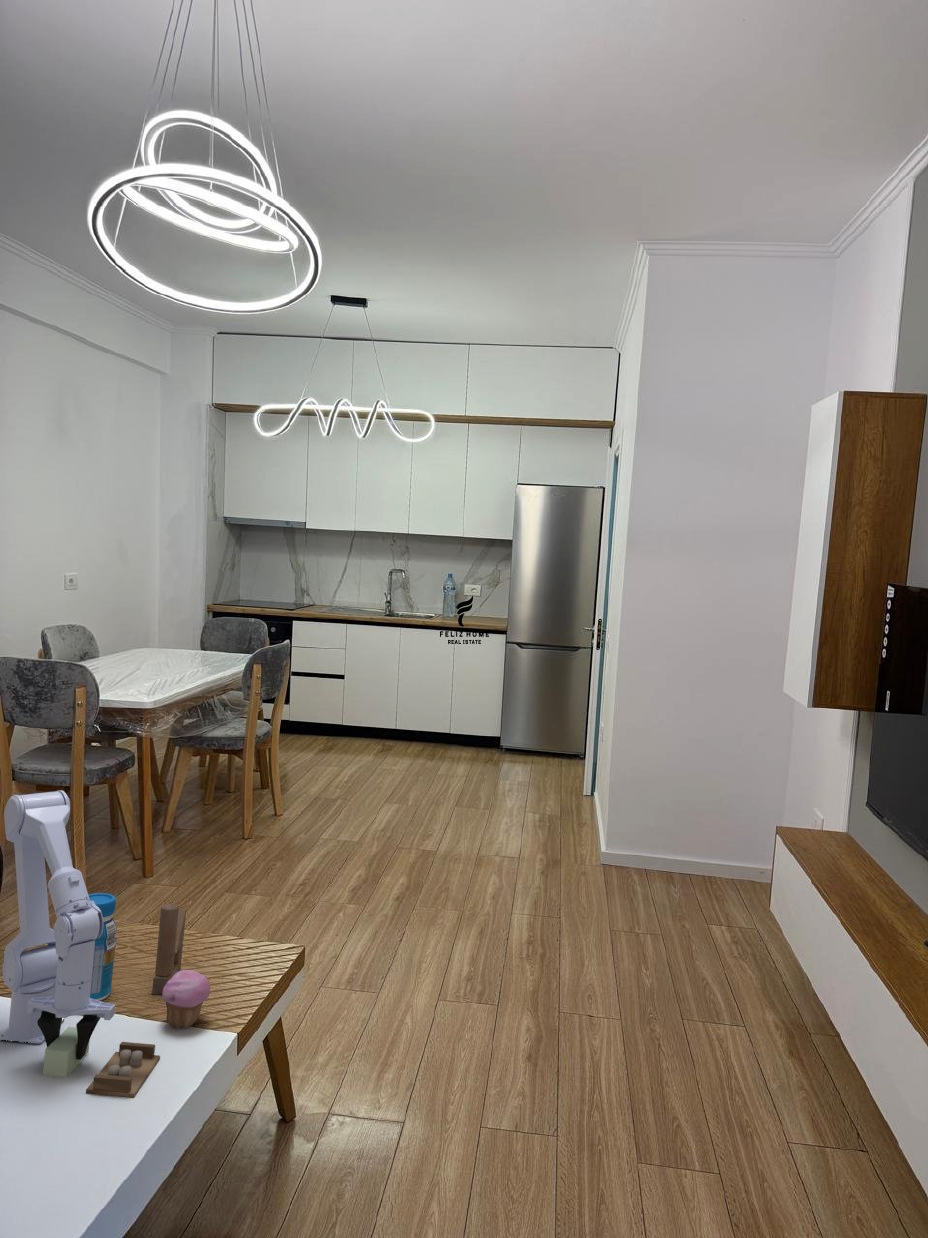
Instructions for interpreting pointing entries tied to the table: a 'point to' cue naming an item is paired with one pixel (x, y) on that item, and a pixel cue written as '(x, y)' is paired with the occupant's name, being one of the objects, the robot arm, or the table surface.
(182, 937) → the wooden block
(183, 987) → the cupcake
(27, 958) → the robot arm
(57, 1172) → the table surface
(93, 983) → the beverage bottle
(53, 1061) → the pale green block
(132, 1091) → the peg frame
